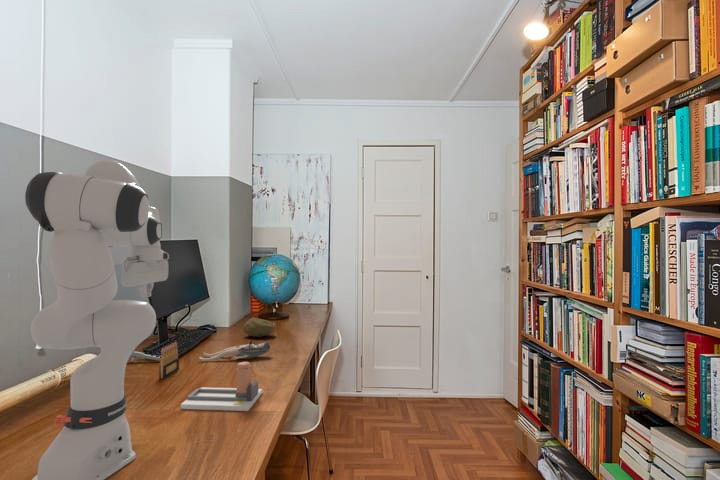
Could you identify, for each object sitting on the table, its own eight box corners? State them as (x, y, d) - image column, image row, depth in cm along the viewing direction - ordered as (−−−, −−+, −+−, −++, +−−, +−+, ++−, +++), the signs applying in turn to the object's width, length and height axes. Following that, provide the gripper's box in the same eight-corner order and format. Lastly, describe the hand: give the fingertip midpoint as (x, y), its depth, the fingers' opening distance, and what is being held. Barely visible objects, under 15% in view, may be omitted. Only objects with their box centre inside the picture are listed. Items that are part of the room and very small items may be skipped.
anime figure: (203, 346, 179) (269, 335, 183) (205, 362, 179) (271, 351, 183) (197, 352, 170) (267, 341, 173) (200, 369, 170) (269, 357, 174)
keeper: (247, 399, 128) (247, 366, 128) (235, 399, 128) (235, 365, 128) (252, 394, 133) (251, 361, 132) (240, 393, 133) (240, 361, 133)
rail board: (248, 411, 123) (248, 393, 123) (180, 408, 125) (180, 391, 125) (262, 393, 137) (262, 377, 137) (201, 391, 139) (201, 376, 139)
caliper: (126, 363, 170) (125, 348, 170) (127, 362, 172) (127, 348, 171) (173, 362, 171) (173, 348, 171) (174, 361, 172) (174, 347, 172)
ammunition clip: (163, 379, 151) (163, 348, 151) (159, 379, 151) (158, 348, 151) (179, 369, 161) (179, 340, 161) (174, 369, 162) (174, 340, 161)
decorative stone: (277, 334, 218) (277, 316, 218) (270, 340, 207) (270, 321, 207) (248, 333, 220) (248, 316, 220) (239, 339, 209) (239, 320, 209)
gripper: (134, 257, 119) (135, 302, 119) (171, 254, 139) (172, 292, 139) (114, 257, 119) (115, 302, 119) (154, 254, 140) (155, 292, 140)
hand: (146, 297), depth 129 cm, fingers closed
